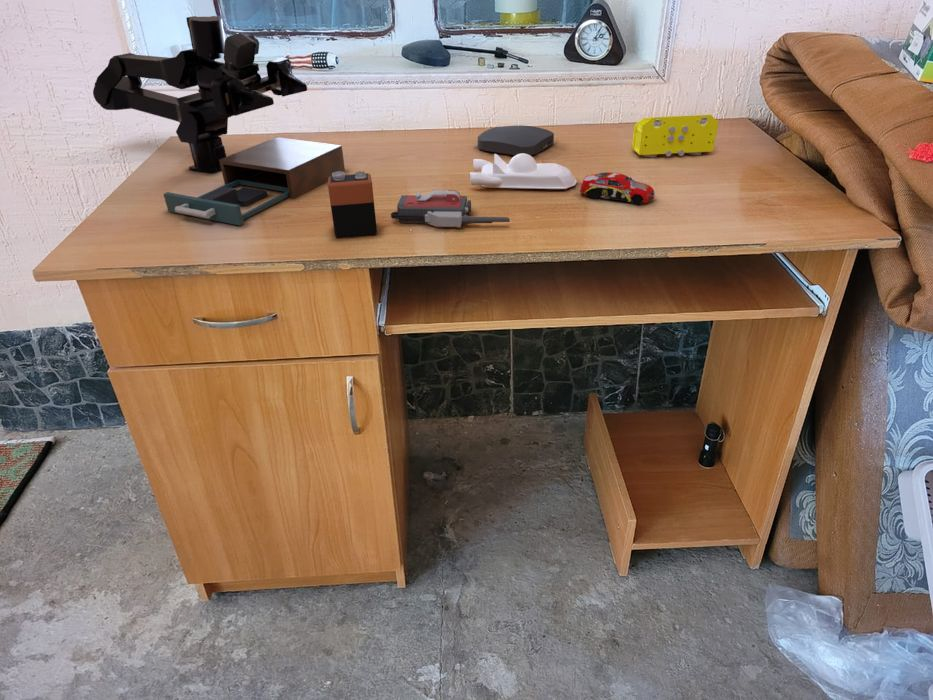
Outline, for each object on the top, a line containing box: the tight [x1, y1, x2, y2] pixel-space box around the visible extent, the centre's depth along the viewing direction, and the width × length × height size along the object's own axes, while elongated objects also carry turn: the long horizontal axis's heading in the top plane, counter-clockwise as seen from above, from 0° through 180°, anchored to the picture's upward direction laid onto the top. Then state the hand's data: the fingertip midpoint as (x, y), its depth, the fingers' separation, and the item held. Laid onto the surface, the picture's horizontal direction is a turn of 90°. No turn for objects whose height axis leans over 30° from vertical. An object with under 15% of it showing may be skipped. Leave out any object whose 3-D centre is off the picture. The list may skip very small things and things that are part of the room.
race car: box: [579, 172, 656, 206], centre depth 117 cm, size 13×5×4 cm, turn 63°
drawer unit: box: [219, 136, 346, 200], centre depth 128 cm, size 17×17×5 cm
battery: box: [327, 170, 378, 239], centre depth 104 cm, size 4×7×10 cm, turn 100°
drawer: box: [163, 179, 290, 226], centre depth 117 cm, size 19×17×3 cm
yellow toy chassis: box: [631, 114, 719, 158], centre depth 136 cm, size 16×6×8 cm, turn 95°
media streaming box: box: [477, 124, 555, 156], centre depth 145 cm, size 15×15×3 cm
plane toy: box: [469, 153, 577, 190], centre depth 123 cm, size 10×20×6 cm, turn 85°
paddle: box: [201, 187, 269, 207], centre depth 118 cm, size 6×12×3 cm, turn 154°
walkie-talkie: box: [390, 189, 510, 228], centre depth 109 cm, size 9×4×20 cm
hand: (290, 94), depth 118 cm, fingers open, 9 cm apart
